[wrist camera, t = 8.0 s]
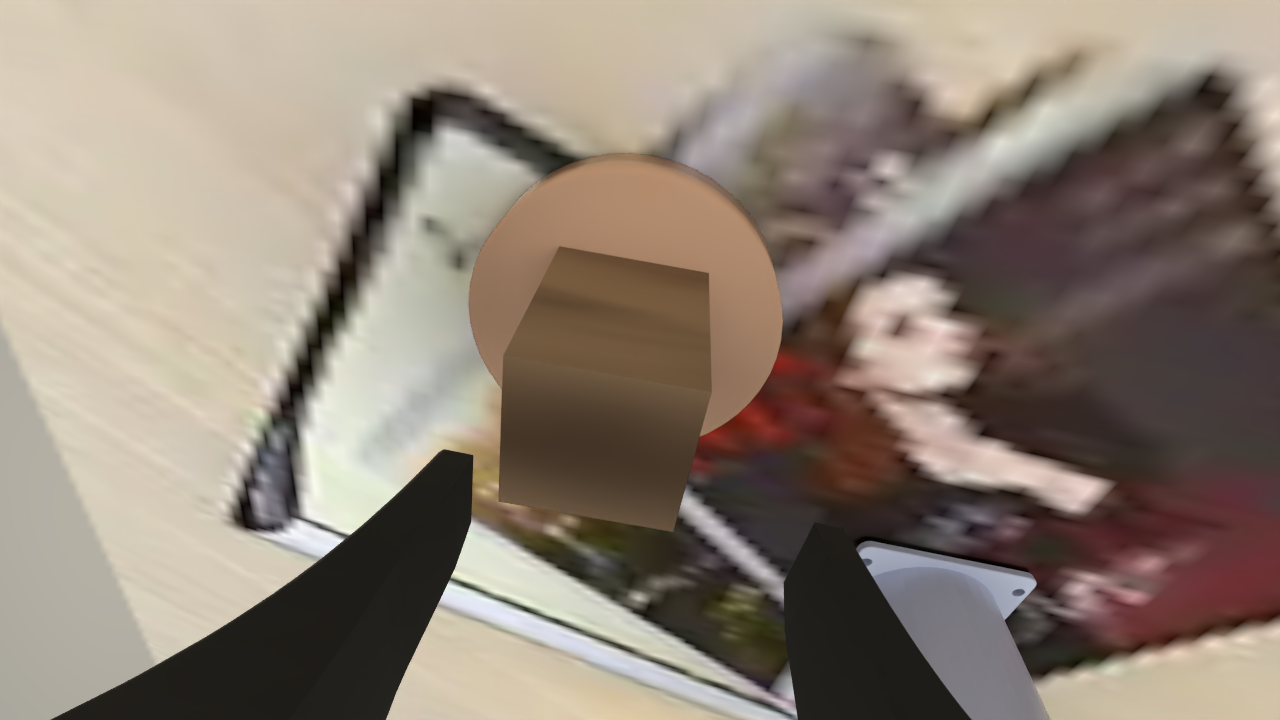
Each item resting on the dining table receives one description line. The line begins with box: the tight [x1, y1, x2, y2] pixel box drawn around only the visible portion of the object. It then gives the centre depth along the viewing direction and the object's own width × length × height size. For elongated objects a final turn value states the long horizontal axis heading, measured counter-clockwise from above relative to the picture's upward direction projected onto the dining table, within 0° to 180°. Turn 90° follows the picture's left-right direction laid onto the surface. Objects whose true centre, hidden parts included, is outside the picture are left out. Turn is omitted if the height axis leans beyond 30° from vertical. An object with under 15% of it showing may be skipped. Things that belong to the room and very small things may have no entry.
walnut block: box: [499, 246, 712, 532], centre depth 16 cm, size 4×4×6 cm
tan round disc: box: [469, 153, 783, 436], centre depth 20 cm, size 10×10×2 cm
